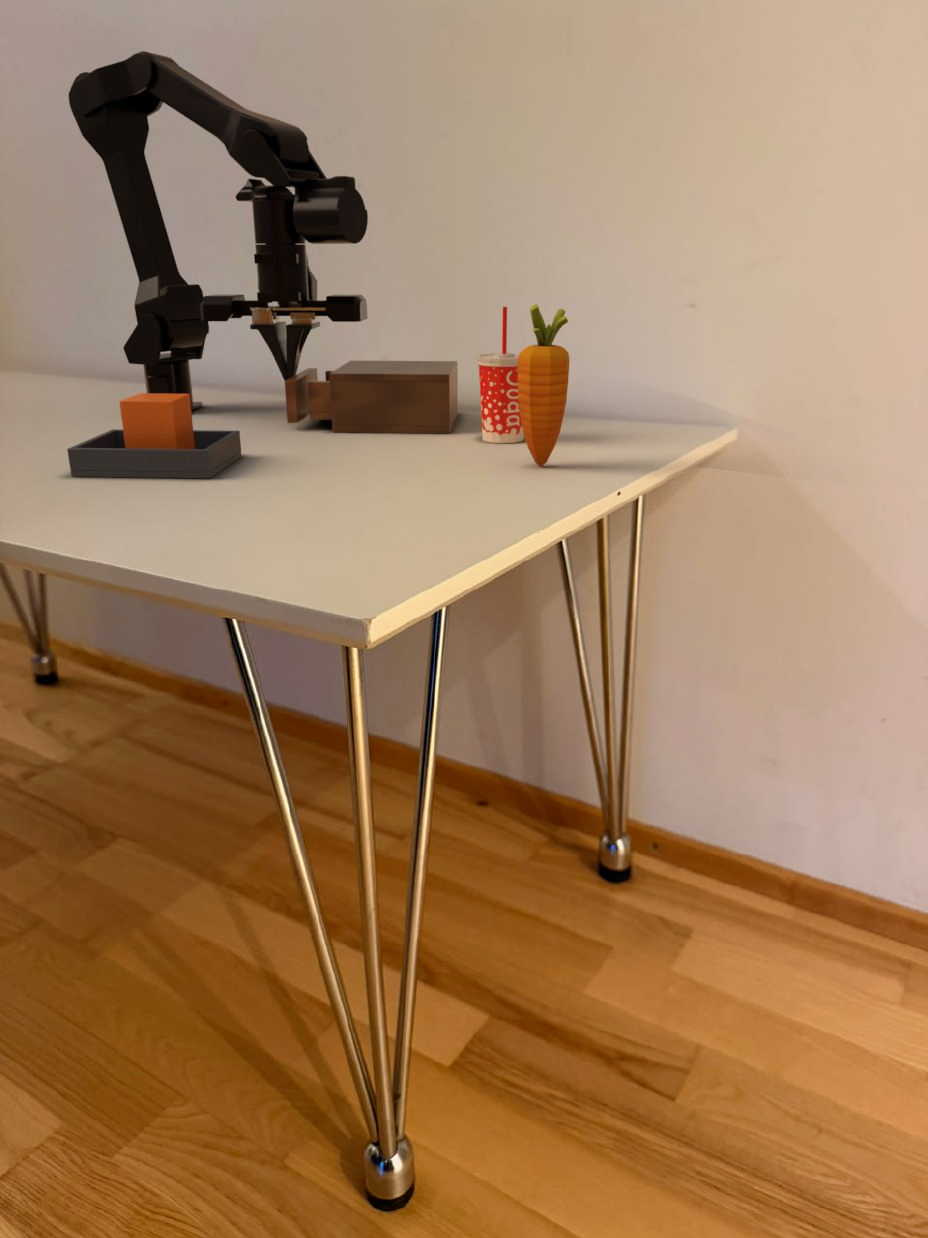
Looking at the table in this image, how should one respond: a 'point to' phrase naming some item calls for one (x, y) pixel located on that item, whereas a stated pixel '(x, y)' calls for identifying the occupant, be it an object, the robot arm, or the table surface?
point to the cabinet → (394, 396)
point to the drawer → (308, 396)
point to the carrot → (543, 387)
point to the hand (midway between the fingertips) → (289, 383)
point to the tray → (154, 457)
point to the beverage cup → (500, 394)
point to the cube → (157, 421)
